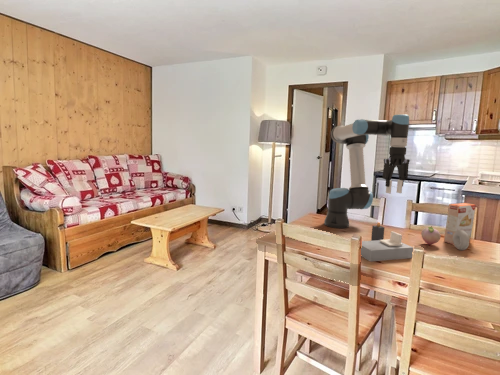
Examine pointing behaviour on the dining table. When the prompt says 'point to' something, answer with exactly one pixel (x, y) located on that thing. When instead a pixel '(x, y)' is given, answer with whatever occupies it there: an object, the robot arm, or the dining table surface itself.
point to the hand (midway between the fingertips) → (393, 192)
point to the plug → (377, 232)
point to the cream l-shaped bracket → (393, 240)
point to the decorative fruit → (430, 235)
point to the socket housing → (384, 251)
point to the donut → (461, 240)
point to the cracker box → (459, 220)
